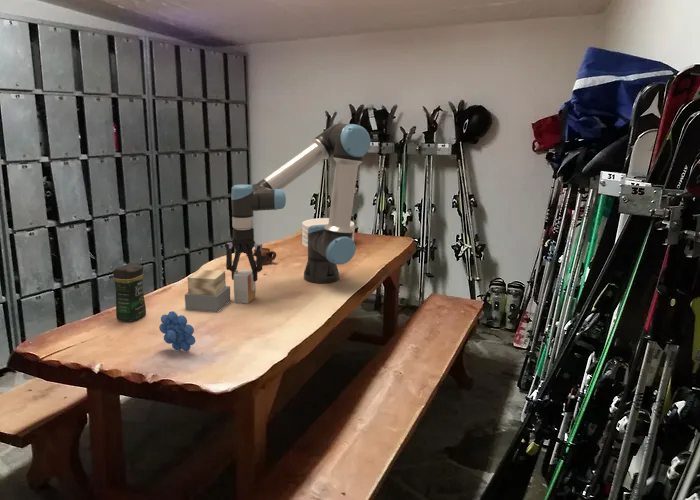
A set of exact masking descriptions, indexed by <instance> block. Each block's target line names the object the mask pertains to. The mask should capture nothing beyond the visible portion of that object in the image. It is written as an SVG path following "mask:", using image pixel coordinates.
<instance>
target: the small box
mask: <svg viewBox="0 0 700 500" xmlns="http://www.w3.org/2000/svg"><path fill="white" fill-rule="evenodd" d="M251 273H252V269H251V270H249V269H241V270H240V271H239V272H238V273H237V274H235V275H234V276H233V277H234V280H233V302H234V303H237V304H249V303H250V302H252V301H253V300H254V299H256V297H257V295H256V294H257V292H256V291H257V290H256V288H257V285H255V289H254V290H253V291H252V290H251Z"/></svg>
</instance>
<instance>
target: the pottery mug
mask: <svg viewBox="0 0 700 500" xmlns="http://www.w3.org/2000/svg"><path fill="white" fill-rule="evenodd" d="M253 256H254V257H256V250H255V249H254V250H253ZM261 256H262V266H263V265H265V266H268V265H269V263H272V262H274V260H276V258H277V252H276V251H274V250H270V248H269V247H262V249H261ZM255 263H256V266H257V261H256V260H255Z"/></svg>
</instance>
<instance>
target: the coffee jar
mask: <svg viewBox="0 0 700 500" xmlns="http://www.w3.org/2000/svg"><path fill="white" fill-rule="evenodd" d="M112 273H113V274H112V279H113V282H114V286H115V287H114V288H115V316H116V320H118V321H120V322H124V323H127V322H135V321H137V320H139V319H141V318H143V317H144V316H145V315H146V314H147V308H146V301H145V294H144V285H143V283H144V282H143V281H144V267H143V265H142V264H141V263H139V262H138V263H137V262H128V263H127V264H124V265H121V266H119V267H116V268H115V269H113V271H112Z"/></svg>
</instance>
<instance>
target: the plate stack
mask: <svg viewBox="0 0 700 500" xmlns="http://www.w3.org/2000/svg"><path fill="white" fill-rule="evenodd" d="M328 223H329V217H319V218H318V217H317V218H310V219H306V220H303V221H302V223H301V225H302V227H301V230H302V232H301V236H302V237H301V239H302V241H301V243H302V246H303V247H306V248H308V235H307V234H308V228H309V227H310V226H313V225H326V224H328ZM350 227H351V229H352V230H353V236H352V240H353V241H354V242H355V222H354V221H353V220H351V222H350Z"/></svg>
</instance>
